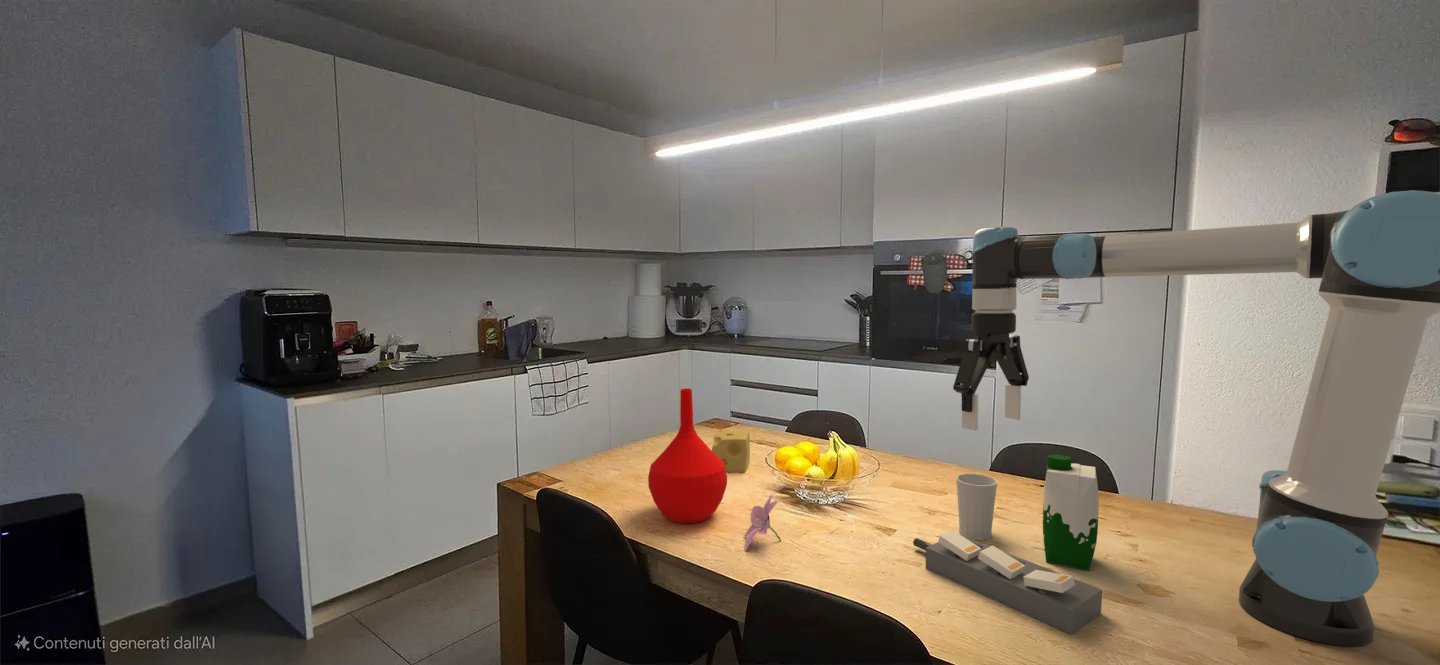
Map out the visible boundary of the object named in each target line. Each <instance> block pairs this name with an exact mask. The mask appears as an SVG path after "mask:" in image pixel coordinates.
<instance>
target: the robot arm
mask: <svg viewBox="0 0 1440 665" xmlns="http://www.w3.org/2000/svg"><path fill="white" fill-rule="evenodd" d="M971 258H972V262H971V263H972V269H971V270H972V286H971V288H972V293H971V294H972V299H971V300H972V301H971V303H972V305H971V309H972V310H974V311H975V312H973V313H972V314H971V331H972V332H973V333H976V335H977V336H976V339H969V338H967V339H965V341H964V350H963V351H964V352H963V354H962V358H961V362H960V364H959V367H958V371H957V373H956V376H955V380H954V384H953V386H952V387H953V388H952V389H953V391H954V392H956V393H959V394H961V428H962V429H967V430H972V431H977V430H978V428H979V427H978V426H979V425H978V423H979V422H978V421H979V394H977V393H976V391H977V389H978V387H979V385H980V384H981V381H982V379H983V378H984V375H985V372H986V371H987V369H988V367H989V366H991V365H992V364H993V363H995V362H996V363H997V364H998V366H999V367H1000V369H1001V371H1002V374H1003V375H1004V377H1005V379H1006V381H1007V383H1008V384H1005V389H1004V390H1005V393H1004V396H1005V397H1004V398H1005V399H1004V418H1005V419H1010V420H1017V421H1019V420H1021V403H1022V402H1021V400H1022V398H1021V397H1022V396H1021V395H1022V386H1023V387H1027V386H1028V381H1029V379H1030V378H1029V376H1030V375H1029V373H1028V369H1027V366H1026V362H1025V359H1024V355H1023V351H1022V348H1021V336H1020V335H1014V334H1013V333H1015V332H1016V331H1017V329H1016V328H1017V314H1016V313H1015V312H1014V310H1017V288H1018V286H1017V282H1018V280H1026V279H1027V280H1028V279H1032V280H1035V279H1036V280H1040V279H1043V280H1044V279H1046V280H1047V279H1048V280H1049V279H1050V280H1051V279H1054V280H1055V279H1057V280H1058V279H1065V280H1069V279H1070V280H1074V279H1089V278H1112V277H1113V278H1115V277H1123V278H1124V277H1153V276H1154V277H1156V276H1158V277H1159V276H1161V277H1162V276H1188V275H1189V276H1190V275H1191V276H1192V275H1199V276H1200V275H1232V274H1236V275H1237V274H1271V273H1273V274H1274V273H1275V274H1276V273H1297V274H1299V275H1300V276H1302V277H1304V278H1305V279H1321V281H1320V285H1319V287H1318V288H1319V289H1318V293H1317V295H1319V296H1320V297H1321V298H1322V299H1323V300H1324V301H1325V302H1326V303H1327V305H1328V306H1329V311H1328V315H1327V319H1326V324H1325V326H1324V330H1323V335H1322V338H1321V342H1320V346H1319V349H1318V354H1317V357H1316V361H1315V364H1314V368H1313V371H1312V375H1311V379H1310V383H1309V386H1308V390H1307V395H1306V397H1305V398H1306V399H1305V402H1304V405H1303V409H1302V414H1301V417H1300V421H1299V424H1298V427H1297V432H1296V436H1295V439H1294V443H1293V447H1292V451H1291V454H1290V459H1289V462H1288V465H1287V469H1286V470H1274V469H1273V470H1267V471H1265V472H1263V474H1262V476H1261V482H1260V483H1259V486H1258V488H1259V489H1260V493H1259V495H1260V496H1259V505H1258V506H1259V508H1258V514H1257V521H1256V527H1255V528H1256V529H1255V532H1254V535H1253V537H1252V540H1251V544H1252V548H1253V549H1252V551H1253V553H1254V556H1255V560H1254V561H1253V563H1252V565H1251V567H1250V568H1249V570H1248V572H1247V574H1246V576H1245V578H1244V579H1243V581H1242V582H1241V584H1240V586H1239V592H1238V604H1239V605H1240V606H1241V608H1242V609H1243V610H1244V611H1245V612H1247V614H1249V615H1250V616H1252V617H1253V618H1255V619H1257V620H1258V621H1260V622H1262V623H1264V624H1266V625H1267V626H1270V627H1272V628H1274V629H1277V630H1279V631H1282V632H1285V633H1287V634H1290V635H1292V636H1296V637H1300V638H1302V639H1305V640H1310V641H1314V642H1318V643H1322V644H1327V645H1328V644H1329V645H1334V646H1341V647H1342V646H1343V647H1359V646H1365V645H1369V644H1371V641H1373V640H1374V632H1375V631H1374V630H1375V624H1374V620H1373V617H1372V614H1371V611H1370V607H1369V606H1368V603H1367V600H1366V597H1365V594H1366V593H1368V592H1369V591H1370V590H1371V589H1372V588H1373V586H1374V584H1375V583H1376V581H1377V579H1378V577H1379V573H1380V569H1379V565H1380V564H1379V561H1378V559H1377V554H1378V550H1379V547H1380V544H1381V541H1382V538H1383V537H1382V536H1383V533H1384V531H1385V530H1384V529H1385V527H1386V523H1387V521H1388V520H1387V519H1388V516H1389V512H1388V510H1387V508H1385V506H1384V505H1383V504H1382V503H1381V502H1380V501H1379V500H1378V498H1377V496H1376V494H1377V491H1378V488H1379V484H1380V481H1381V478H1382V474H1383V472H1384V471H1383V470H1384V468H1385V464H1386V460H1387V457H1388V455H1389V452H1390V451H1389V450H1390V448H1391V443H1392V440H1393V436H1394V434H1395V430H1396V427H1397V423H1398V421H1399V417H1400V414H1401V410H1402V406H1403V404H1404V400H1405V397H1406V392H1407V390H1408V386H1409V384H1410V380H1411V376H1412V374H1413V371H1414V370H1413V369H1414V366H1415V363H1416V359H1417V356H1418V354H1419V349H1420V346H1421V344H1422V340H1423V336H1424V333H1425V330H1426V326H1427V323H1428V320H1429V318H1431V317H1432V316H1434V315H1435V314H1438V313H1440V193H1437V192H1433V191H1426V190H1425V191H1424V190H1415V189H1411V190H1401V191H1399V190H1398V191H1389V192H1387V193H1386V192H1385V193H1380V194H1379V195H1378V194H1377V195H1374V196H1372V197H1369V198H1367V199H1365V200H1362V201H1360V202H1359V203H1357V204H1356V205H1353V207H1352V208H1351V209H1347V210H1342V211H1336V212H1331V213H1320V214H1318V213H1317V214H1309V215H1307V216H1305V217H1304V218H1303V219H1302V220H1300V221H1298V222H1287V223H1274V224H1273V223H1271V224H1258V225H1257V224H1256V225H1246V226H1231V227H1216V228H1203V229H1201V228H1200V229H1189V230H1185V229H1184V230H1172V231H1171V230H1170V231H1161V232H1158V231H1157V232H1144V233H1133V234H1132V233H1131V234H1118V235H1117V234H1116V235H1106V236H1105V235H1104V236H1099V235H1098V236H1092V235H1091V234H1089V233H1072V232H1071V233H1070V232H1068V233H1065V234H1053V235H1051V234H1050V235H1040V236H1030V237H1029V236H1028V237H1026V236H1024V237H1023V236H1019V233H1018V229H1017V228H1016V227H1014V226H1013V227H1012V226H1001V227H996V226H995V227H987V228H981V229H977V231H975V232H974V234H973V243H972V252H971Z"/></svg>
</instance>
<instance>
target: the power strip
mask: <svg viewBox="0 0 1440 665" xmlns="http://www.w3.org/2000/svg"><path fill="white" fill-rule="evenodd" d="M961 536H962V535H961ZM963 537H964V536H963ZM964 538H966V539H967V540H969V541H971V542H972V543H974V544H975V545H977V546H978V547H980V548H981V551H982V550H984V549H986V548H988V547H991V546H989V545H987V544H984V543H982V542H981V541H980V542H979V541H977V540H972V539H969V538H967V537H964ZM912 544H913V546H914V547H915V548H916V547H917V548H919V549H921V550H923V551H925V568H926V569H927V570H929V571H932V572H933V573H936V574H938V575H940V576H942V577H944V578H947V579H949V580H951V581H952V582H955V583H958V584H960V585H962V586H964V587H966V588H968V589H970V590H973V591H975V592H977V593H979V594H982V595H983V596H986V597H988V598H990V599H992V600H994V601H997V602H999V603H1001V604H1003V605H1005V606H1008V607H1010V608H1012V609H1014V610H1016V611H1019V612H1020V613H1022V614H1025V615H1026V616H1030V617H1031V618H1034V619H1036V620H1038V621H1040V622H1042V623H1045V624H1047V625H1048V626H1051V627H1053V628H1055V629H1057V630H1060V631H1061V632H1064V633H1066V634H1068V635H1070V636H1072V635H1074V633H1076V632H1077V631H1079V630H1080V629H1081V628H1083V627H1084V626H1086V625H1087V624H1088V623H1090V622H1091V621H1092V620H1094V619H1096V617H1098V616H1099V615H1101V614H1102V604H1103V602H1102V601H1103V589H1102V588H1099V587H1096V586H1094V585H1092V584H1089V583H1086V582H1083V581H1081V580H1079V579H1075V578H1074V583H1075V586H1073V587H1071V588H1070V589H1068V590H1067V591H1065V592H1063V593H1060V592H1055V591H1050V590H1045V589H1040V588H1035V587H1030V586H1025V583H1024V578H1023V577H1024V576H1026V575H1027V574H1029V573H1031V572H1033V571H1035V570H1040V571H1046V572H1052V573H1058V574H1061V573H1060V572H1058V571H1056V570H1052V569H1051V568H1050V569H1049V568H1046V567H1045V566H1041V565H1039V564H1037V563H1034V562H1031V561H1030V560H1026V559H1024V558H1021V557H1019V556H1016V555H1013V554H1010V553H1009V552H1007V551H1003V552H1004V553H1006V554H1007V555H1009V556H1011V557H1012V558H1014V559H1015V560H1017V561H1019V562H1020V563H1022V564H1023V565H1025V568H1024V571H1023V573H1021V574H1019V575H1017V576H1016V577H1014V578H1012V579H1009V578H1007V577H1006V576H1004V575H1003V574H1001V573H1000V572H998V571H997V570H995V569H994V568H992V567H990V566H989V565H987V564H986V563H984V562H983V561H981V560H980V559H978V557H979V555H978V556H976V557H974V558H972V559H970V560H968V561H966V560H964V559H963V558H961V557H960V556H958V555H957V554H955V553H954V552H952V551H951V550H949V549H948V548H946V547H945V546H943V545H942V544H940V543H939V542H938V541H937V542H935V543H934V544H932V543H930V542H927V541H925V540H922V539H920V538H918V537H916V538H914V539H913V543H912Z"/></svg>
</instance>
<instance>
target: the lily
mask: <svg viewBox="0 0 1440 665" xmlns="http://www.w3.org/2000/svg"><path fill="white" fill-rule="evenodd" d="M772 497H773V494H771V495H770V496H769V497H768V499H767V500H766V501H765V503H764V505H763V506H761V505H755V506H753V507H752V509H751V511H750V522H751V525H750V526H749V528H748V529H747V530H746V531H745V534H744V536H743V538H746V540H745V544H744V552H746V551H747V550H748V548H749V546H750V545H751V543H752V541H753V539H754V538H755V537H756V535H757V534H759V535H763V536H765V535H767V534H768V529H769V530H771V531H772V532H773V533H774V534H775V536H776V538H777V539H778V540H779V542H782V540H781V538H780V536H779V535H778V533H777V532H776V531H775V530H774V528H773V527H772V526H771V523H770V522H771V521H770V520H771V519H770V513H771V512H772V510H774V508H775V507H776V505H777V504H778V501H777V500H775V501H772Z"/></svg>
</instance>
